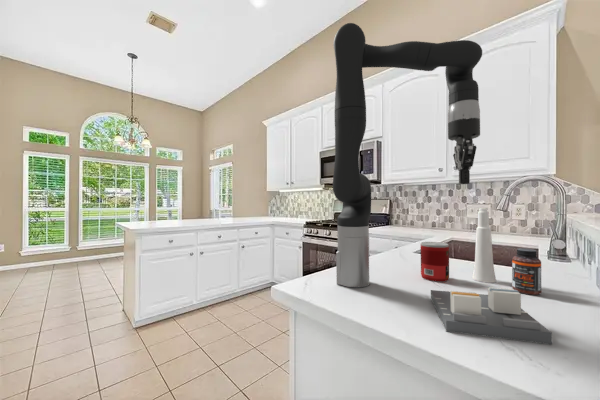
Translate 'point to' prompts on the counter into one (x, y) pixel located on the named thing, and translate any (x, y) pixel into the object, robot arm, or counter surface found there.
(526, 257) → the supplement bottle
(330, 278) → the counter surface
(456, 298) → the fader
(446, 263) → the canned food
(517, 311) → the fader
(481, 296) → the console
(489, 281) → the cosmetic bottle
